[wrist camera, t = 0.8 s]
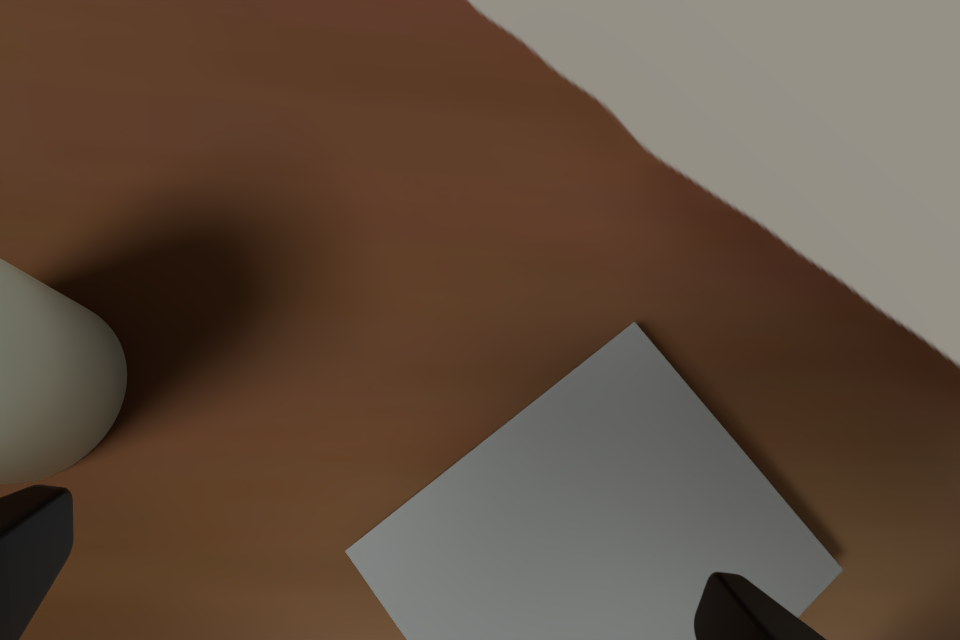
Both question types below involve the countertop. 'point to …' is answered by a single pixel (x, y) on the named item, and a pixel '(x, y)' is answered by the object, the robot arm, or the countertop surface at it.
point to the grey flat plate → (591, 518)
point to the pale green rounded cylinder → (52, 379)
